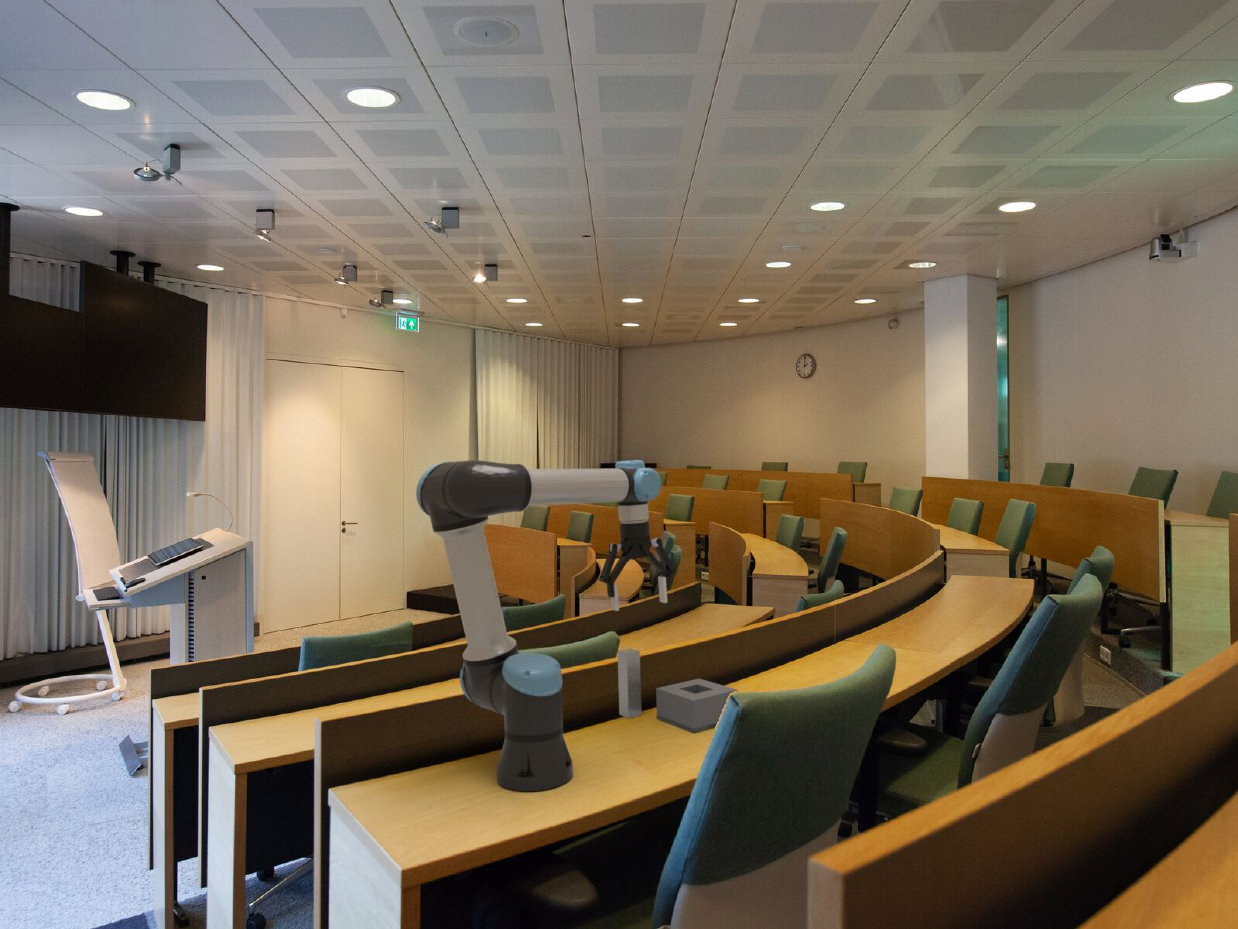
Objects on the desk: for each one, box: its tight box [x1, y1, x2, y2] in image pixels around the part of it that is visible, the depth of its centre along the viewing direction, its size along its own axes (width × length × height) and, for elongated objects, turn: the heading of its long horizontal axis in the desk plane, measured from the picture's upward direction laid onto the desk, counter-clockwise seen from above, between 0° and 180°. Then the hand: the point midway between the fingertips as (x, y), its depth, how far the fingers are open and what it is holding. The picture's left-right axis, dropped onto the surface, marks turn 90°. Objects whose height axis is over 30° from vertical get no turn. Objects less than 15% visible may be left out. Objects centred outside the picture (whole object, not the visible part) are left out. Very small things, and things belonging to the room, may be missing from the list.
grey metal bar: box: [617, 648, 643, 719], centre depth 187 cm, size 4×4×16 cm
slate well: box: [655, 678, 738, 734], centre depth 181 cm, size 14×14×8 cm
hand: (639, 606), depth 186 cm, fingers open, 13 cm apart
